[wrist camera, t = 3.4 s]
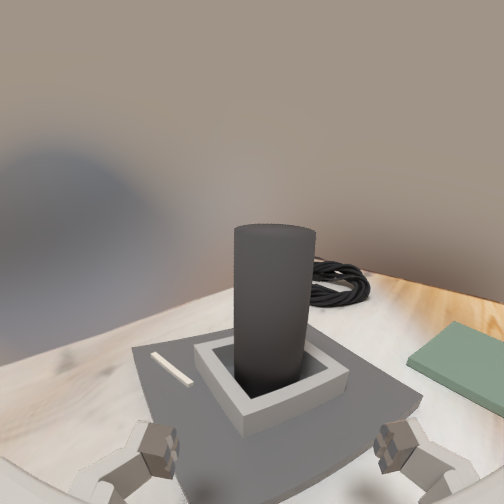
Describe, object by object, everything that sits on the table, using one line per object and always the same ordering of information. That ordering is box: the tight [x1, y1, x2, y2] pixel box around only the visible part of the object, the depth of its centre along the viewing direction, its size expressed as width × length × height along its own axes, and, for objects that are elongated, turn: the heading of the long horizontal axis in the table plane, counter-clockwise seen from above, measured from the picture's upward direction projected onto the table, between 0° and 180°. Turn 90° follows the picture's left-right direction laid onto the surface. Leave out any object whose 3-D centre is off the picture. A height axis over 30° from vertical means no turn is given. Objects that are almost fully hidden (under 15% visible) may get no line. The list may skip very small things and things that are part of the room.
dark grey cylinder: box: [234, 224, 316, 399], centre depth 21 cm, size 6×6×13 cm
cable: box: [310, 261, 370, 306], centre depth 47 cm, size 17×14×4 cm
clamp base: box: [132, 323, 423, 504], centre depth 22 cm, size 20×20×4 cm
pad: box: [406, 321, 504, 418], centre depth 23 cm, size 14×14×1 cm
